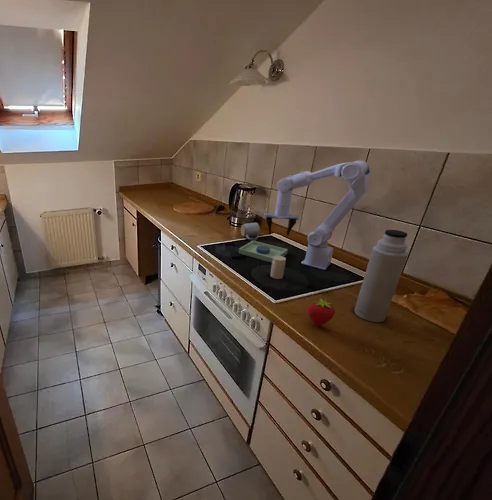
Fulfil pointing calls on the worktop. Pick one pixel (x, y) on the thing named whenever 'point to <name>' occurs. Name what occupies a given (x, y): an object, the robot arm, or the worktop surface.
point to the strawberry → (320, 312)
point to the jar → (278, 267)
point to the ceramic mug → (250, 230)
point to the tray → (251, 251)
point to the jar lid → (263, 250)
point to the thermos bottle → (382, 276)
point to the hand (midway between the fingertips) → (278, 233)
